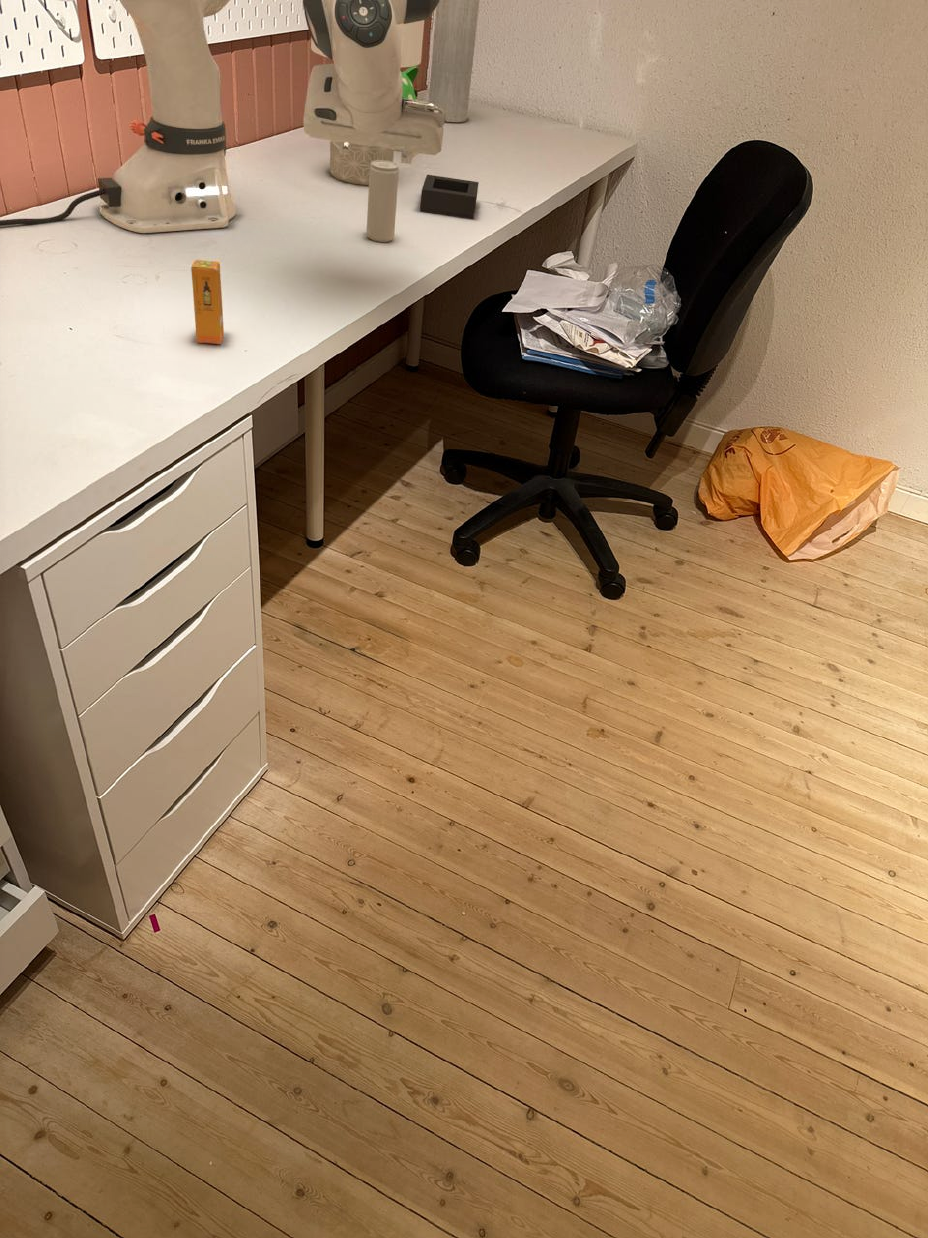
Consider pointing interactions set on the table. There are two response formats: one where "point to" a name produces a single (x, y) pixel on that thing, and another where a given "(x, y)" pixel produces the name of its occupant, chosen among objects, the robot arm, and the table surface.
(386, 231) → the beverage can
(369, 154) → the lamp
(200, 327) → the supplement box
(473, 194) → the box socket
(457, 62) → the vase
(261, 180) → the table surface
